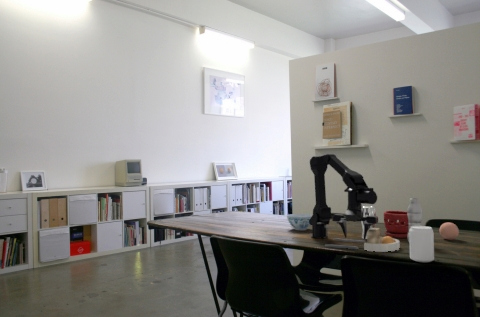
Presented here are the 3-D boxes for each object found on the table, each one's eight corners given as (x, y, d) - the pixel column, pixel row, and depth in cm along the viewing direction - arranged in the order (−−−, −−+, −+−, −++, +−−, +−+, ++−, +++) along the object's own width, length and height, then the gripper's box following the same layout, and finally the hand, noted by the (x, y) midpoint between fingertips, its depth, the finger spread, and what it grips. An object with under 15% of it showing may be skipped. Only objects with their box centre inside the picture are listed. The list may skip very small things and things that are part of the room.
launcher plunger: (367, 248, 165) (367, 231, 165) (372, 243, 175) (372, 227, 175) (374, 249, 163) (374, 232, 163) (380, 244, 174) (379, 228, 174)
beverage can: (405, 258, 148) (404, 225, 149) (426, 257, 149) (425, 225, 149) (417, 263, 140) (416, 229, 141) (438, 262, 141) (438, 228, 141)
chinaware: (314, 231, 211) (314, 217, 211) (286, 231, 214) (286, 217, 214) (314, 227, 226) (314, 214, 226) (288, 227, 229) (287, 213, 229)
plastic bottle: (422, 242, 177) (421, 197, 178) (424, 245, 171) (423, 199, 171) (406, 241, 179) (405, 197, 180) (407, 244, 173) (406, 198, 173)
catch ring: (364, 250, 162) (363, 243, 162) (372, 242, 178) (372, 236, 179) (396, 253, 156) (396, 245, 156) (402, 245, 173) (401, 238, 173)
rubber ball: (380, 248, 166) (380, 236, 166) (382, 246, 170) (382, 234, 170) (393, 250, 163) (393, 237, 163) (395, 247, 167) (395, 236, 168)
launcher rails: (324, 246, 171) (324, 244, 171) (334, 240, 185) (334, 238, 185) (357, 249, 165) (357, 247, 165) (365, 242, 179) (365, 240, 179)
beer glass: (377, 239, 186) (376, 207, 186) (361, 239, 187) (361, 207, 187) (375, 237, 192) (374, 206, 193) (360, 236, 194) (359, 206, 194)
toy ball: (458, 238, 186) (457, 221, 186) (459, 241, 179) (459, 224, 179) (439, 237, 189) (438, 221, 189) (439, 240, 182) (439, 223, 182)
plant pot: (383, 238, 190) (383, 213, 190) (384, 233, 202) (384, 210, 202) (413, 239, 185) (412, 213, 185) (412, 235, 197) (411, 210, 197)
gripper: (328, 203, 171) (328, 239, 170) (373, 205, 162) (373, 243, 161) (335, 201, 181) (336, 235, 180) (378, 202, 172) (378, 239, 171)
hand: (355, 238), depth 173 cm, fingers open, 8 cm apart
